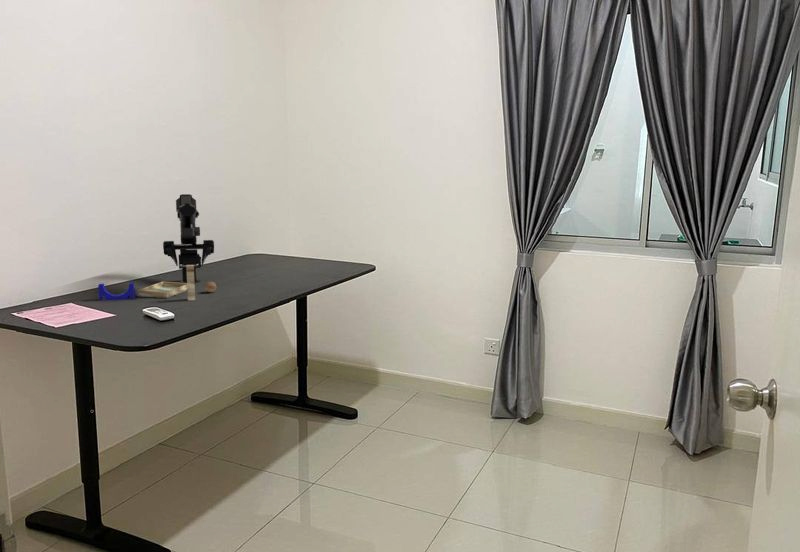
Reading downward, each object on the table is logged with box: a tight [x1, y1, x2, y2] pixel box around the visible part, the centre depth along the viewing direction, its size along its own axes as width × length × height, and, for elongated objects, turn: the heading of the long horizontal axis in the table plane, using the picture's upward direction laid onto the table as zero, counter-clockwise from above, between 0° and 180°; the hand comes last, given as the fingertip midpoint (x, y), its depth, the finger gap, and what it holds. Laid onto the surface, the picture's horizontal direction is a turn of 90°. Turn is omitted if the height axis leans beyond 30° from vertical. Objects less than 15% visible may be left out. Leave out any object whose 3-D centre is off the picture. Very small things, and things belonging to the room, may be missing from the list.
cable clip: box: [97, 282, 136, 301], centre depth 241 cm, size 12×4×6 cm, turn 107°
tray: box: [135, 281, 188, 299], centre depth 252 cm, size 18×13×2 cm
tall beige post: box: [186, 265, 196, 301], centre depth 240 cm, size 3×3×13 cm
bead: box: [204, 281, 217, 294], centre depth 254 cm, size 4×4×4 cm
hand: (189, 264), depth 245 cm, fingers open, 9 cm apart
